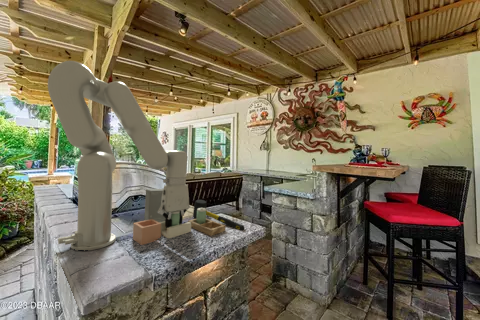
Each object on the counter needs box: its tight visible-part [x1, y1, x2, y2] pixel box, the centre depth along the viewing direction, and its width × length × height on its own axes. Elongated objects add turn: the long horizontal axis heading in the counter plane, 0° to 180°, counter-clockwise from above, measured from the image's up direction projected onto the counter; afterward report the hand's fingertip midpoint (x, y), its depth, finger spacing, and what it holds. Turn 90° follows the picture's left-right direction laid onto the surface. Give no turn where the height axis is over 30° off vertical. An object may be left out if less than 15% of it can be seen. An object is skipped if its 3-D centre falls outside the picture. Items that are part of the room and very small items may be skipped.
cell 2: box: [196, 208, 207, 224], centre depth 89 cm, size 4×4×8 cm
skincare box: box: [143, 188, 166, 222], centre depth 91 cm, size 8×7×16 cm
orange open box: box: [132, 219, 162, 246], centre depth 75 cm, size 7×7×6 cm
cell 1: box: [171, 211, 180, 226], centre depth 81 cm, size 4×4×8 cm
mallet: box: [192, 199, 245, 231], centre depth 95 cm, size 29×6×10 cm, turn 57°
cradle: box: [159, 219, 192, 239], centre depth 81 cm, size 10×9×5 cm
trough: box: [187, 218, 227, 237], centre depth 87 cm, size 8×15×3 cm, turn 50°
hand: (173, 226), depth 81 cm, fingers closed on cell 1, 4 cm apart
